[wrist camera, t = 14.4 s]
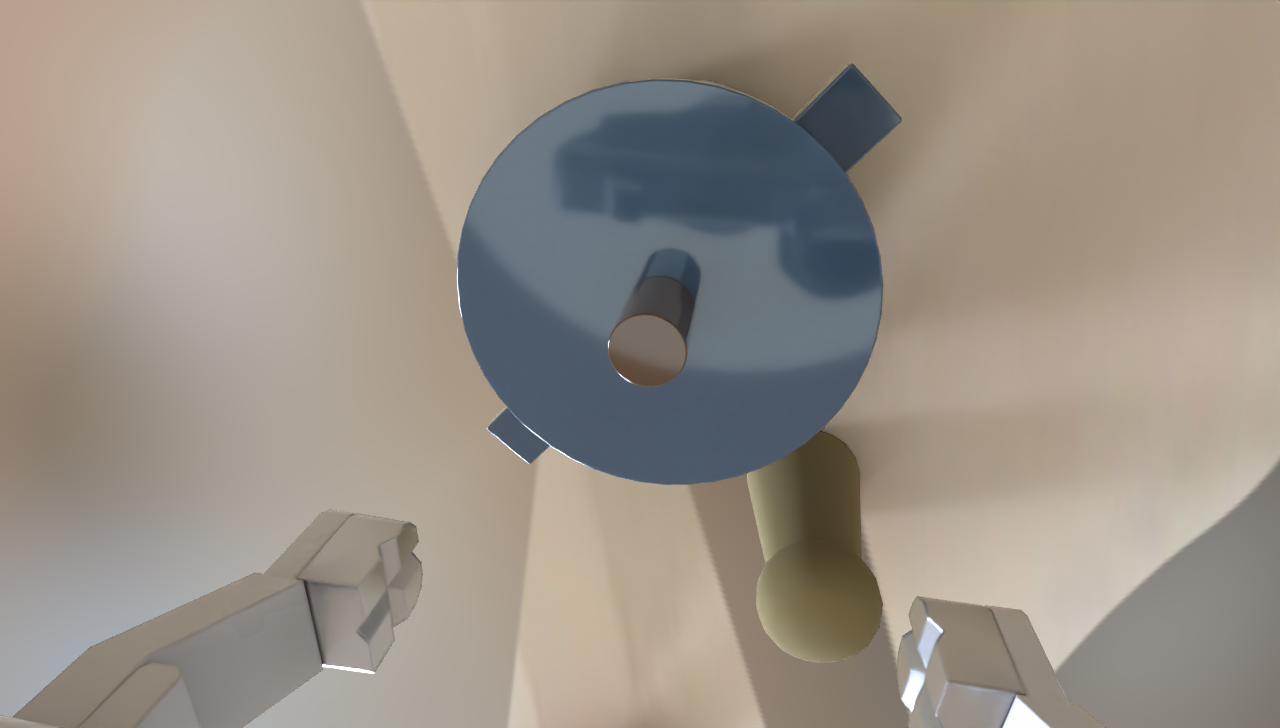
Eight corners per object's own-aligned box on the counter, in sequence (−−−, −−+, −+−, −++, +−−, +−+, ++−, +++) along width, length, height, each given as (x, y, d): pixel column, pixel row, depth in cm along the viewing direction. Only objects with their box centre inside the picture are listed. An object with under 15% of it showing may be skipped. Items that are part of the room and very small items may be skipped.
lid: (969, 301, 23) (1019, 360, 18) (669, 527, 29) (656, 611, 24) (656, -35, 20) (632, -56, 16) (395, 294, 26) (326, 343, 21)
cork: (833, 412, 35) (866, 556, 25) (876, 500, 37) (922, 666, 27) (728, 452, 37) (720, 600, 27) (774, 533, 39) (782, 699, 29)
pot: (944, 192, 30) (1023, 252, 21) (651, 439, 37) (623, 556, 29) (728, -49, 27) (719, -91, 18) (460, 271, 35) (367, 346, 26)
